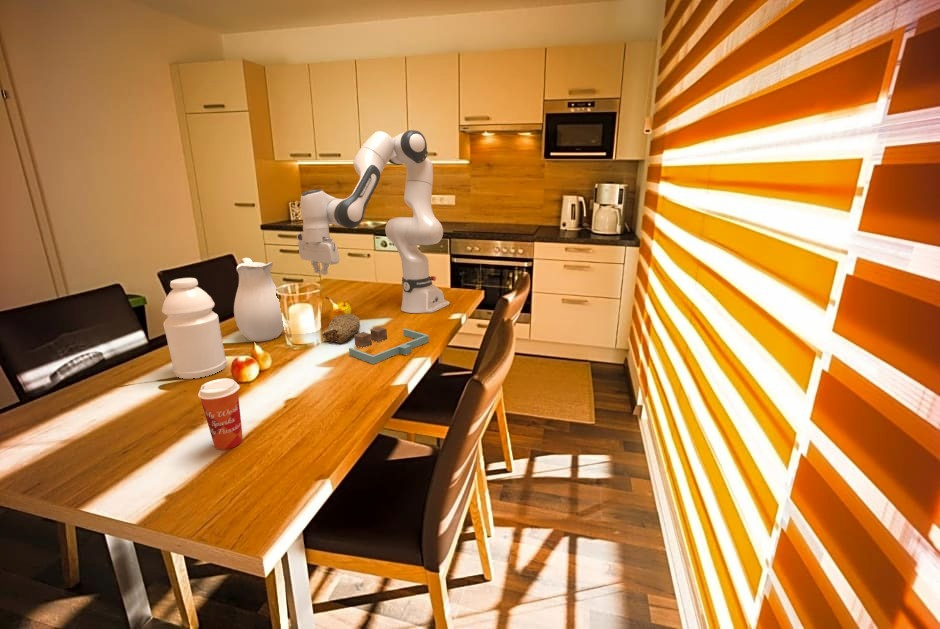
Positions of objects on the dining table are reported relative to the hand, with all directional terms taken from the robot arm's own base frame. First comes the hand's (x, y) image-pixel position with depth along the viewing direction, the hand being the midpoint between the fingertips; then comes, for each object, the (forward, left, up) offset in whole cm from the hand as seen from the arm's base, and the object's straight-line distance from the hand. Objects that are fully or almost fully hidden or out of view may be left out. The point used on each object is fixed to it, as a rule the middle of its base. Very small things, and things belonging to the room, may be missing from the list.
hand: (321, 273), depth 170 cm
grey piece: (0, +38, -21) cm, 43 cm away
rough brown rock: (+1, +12, -22) cm, 24 cm away
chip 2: (-3, +26, -21) cm, 34 cm away
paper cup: (+60, +51, -21) cm, 82 cm away
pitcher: (+19, -13, -21) cm, 31 cm away
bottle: (+47, +4, -21) cm, 52 cm away
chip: (+4, +26, -21) cm, 34 cm away
